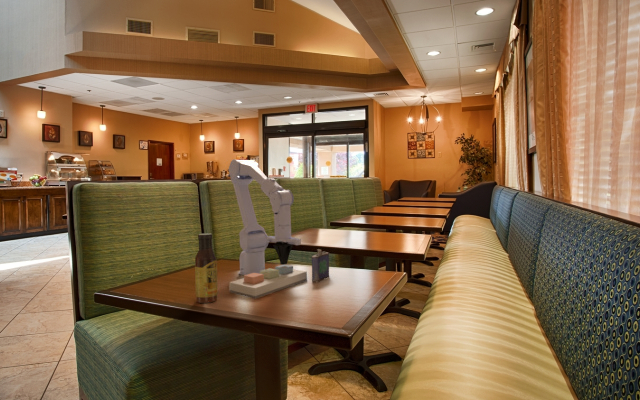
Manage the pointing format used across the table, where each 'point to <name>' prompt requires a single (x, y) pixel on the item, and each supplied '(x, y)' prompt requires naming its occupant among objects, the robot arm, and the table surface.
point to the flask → (320, 266)
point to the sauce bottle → (206, 270)
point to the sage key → (270, 273)
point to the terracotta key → (253, 278)
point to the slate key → (284, 269)
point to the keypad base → (267, 284)
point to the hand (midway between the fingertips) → (283, 264)
